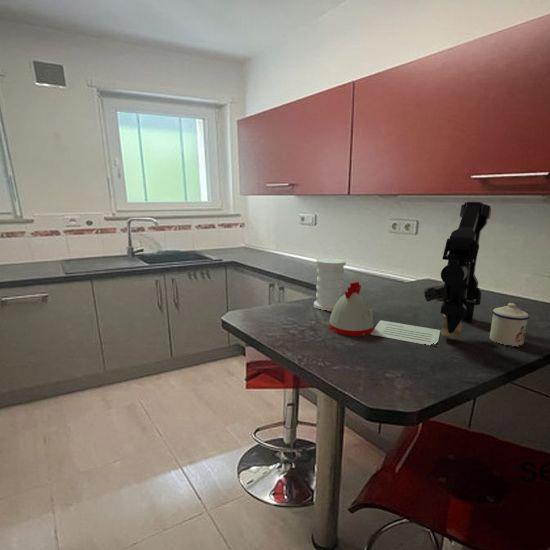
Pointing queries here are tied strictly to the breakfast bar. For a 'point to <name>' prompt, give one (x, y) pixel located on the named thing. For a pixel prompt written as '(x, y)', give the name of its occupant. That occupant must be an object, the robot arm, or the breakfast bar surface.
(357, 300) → the kitchen timer
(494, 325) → the teacup with lid
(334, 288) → the decorative container
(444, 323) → the block
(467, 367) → the breakfast bar surface
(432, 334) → the letter
